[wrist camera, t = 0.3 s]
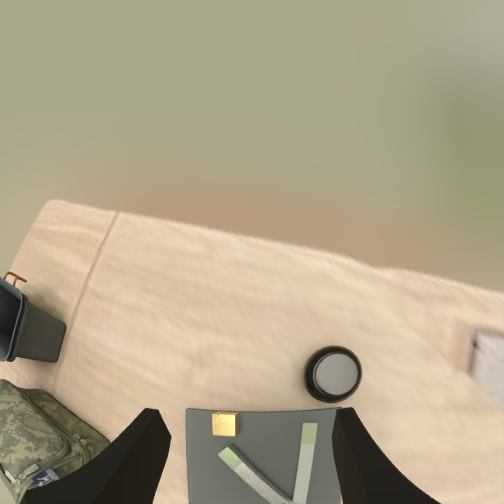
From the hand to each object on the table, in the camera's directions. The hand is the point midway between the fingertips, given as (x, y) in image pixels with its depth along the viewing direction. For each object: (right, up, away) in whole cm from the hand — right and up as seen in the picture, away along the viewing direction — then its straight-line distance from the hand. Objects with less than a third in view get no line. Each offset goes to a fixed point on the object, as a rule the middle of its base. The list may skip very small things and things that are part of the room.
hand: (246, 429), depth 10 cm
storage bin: (-45, -9, +37) cm, 59 cm away
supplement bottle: (+11, -10, +26) cm, 30 cm away
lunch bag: (-35, -30, +25) cm, 52 cm away
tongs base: (+2, -23, +21) cm, 32 cm away
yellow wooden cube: (-3, -16, +24) cm, 29 cm away
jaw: (+1, -23, +19) cm, 30 cm away
